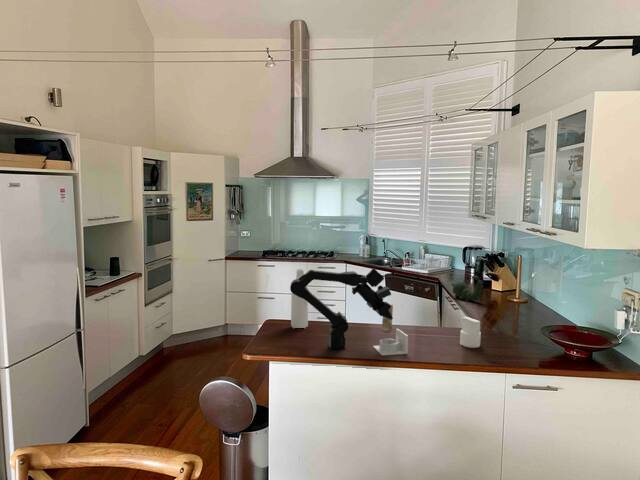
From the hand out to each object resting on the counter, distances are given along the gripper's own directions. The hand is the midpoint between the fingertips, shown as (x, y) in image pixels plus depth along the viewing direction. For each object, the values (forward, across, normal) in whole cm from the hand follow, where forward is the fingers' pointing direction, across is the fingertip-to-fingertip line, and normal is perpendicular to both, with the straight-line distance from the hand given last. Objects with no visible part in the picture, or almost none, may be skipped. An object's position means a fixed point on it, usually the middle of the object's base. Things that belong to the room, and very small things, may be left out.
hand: (390, 317), depth 204 cm
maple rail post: (+4, 0, +6) cm, 7 cm away
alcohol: (-16, +36, +35) cm, 53 cm away
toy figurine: (+69, +85, -50) cm, 121 cm away
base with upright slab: (+37, -2, -18) cm, 41 cm away
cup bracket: (+8, -5, +11) cm, 15 cm away
